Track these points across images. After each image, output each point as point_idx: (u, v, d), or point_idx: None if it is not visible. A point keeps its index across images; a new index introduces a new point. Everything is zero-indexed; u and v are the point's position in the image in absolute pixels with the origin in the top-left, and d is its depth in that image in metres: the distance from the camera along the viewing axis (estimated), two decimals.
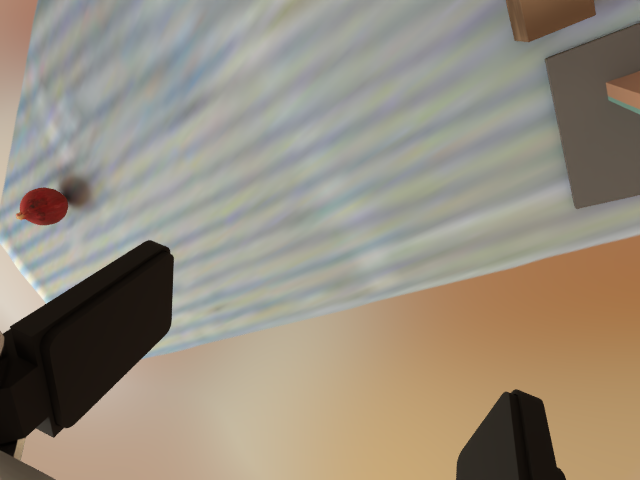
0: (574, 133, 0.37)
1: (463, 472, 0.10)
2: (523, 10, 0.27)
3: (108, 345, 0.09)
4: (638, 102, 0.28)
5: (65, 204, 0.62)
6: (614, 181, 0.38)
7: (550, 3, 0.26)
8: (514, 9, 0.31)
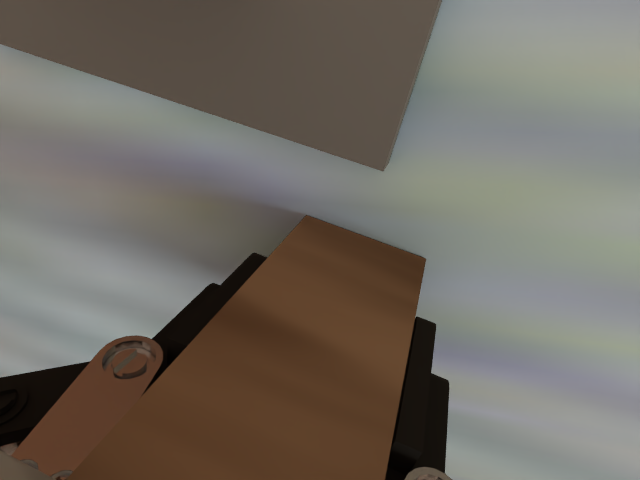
0: None
1: None
2: None
3: None
4: None
5: None
6: None
7: None
8: None
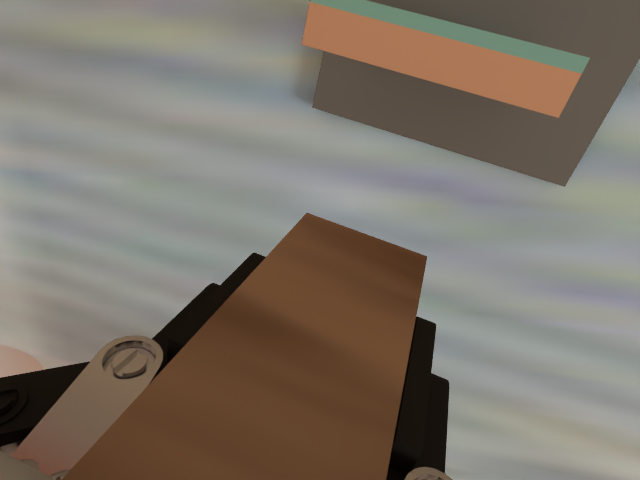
0: (631, 20, 0.17)
1: None
2: None
3: None
4: None
5: None
6: None
7: None
8: None
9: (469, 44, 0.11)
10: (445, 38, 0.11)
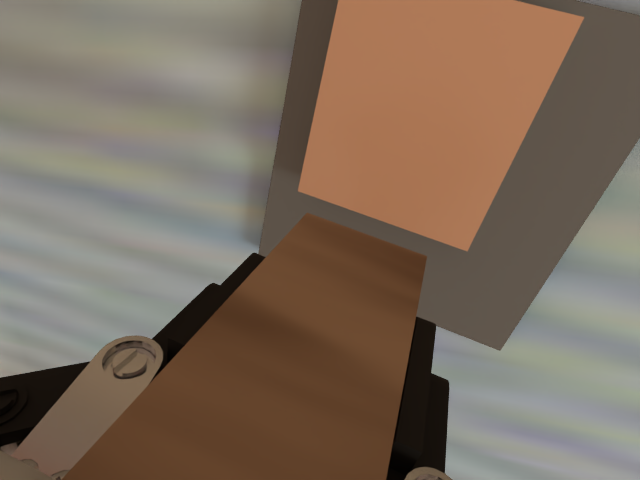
0: (553, 222, 0.17)
1: None
2: None
3: None
4: None
5: None
6: (567, 67, 0.14)
7: None
8: None
9: None
10: None
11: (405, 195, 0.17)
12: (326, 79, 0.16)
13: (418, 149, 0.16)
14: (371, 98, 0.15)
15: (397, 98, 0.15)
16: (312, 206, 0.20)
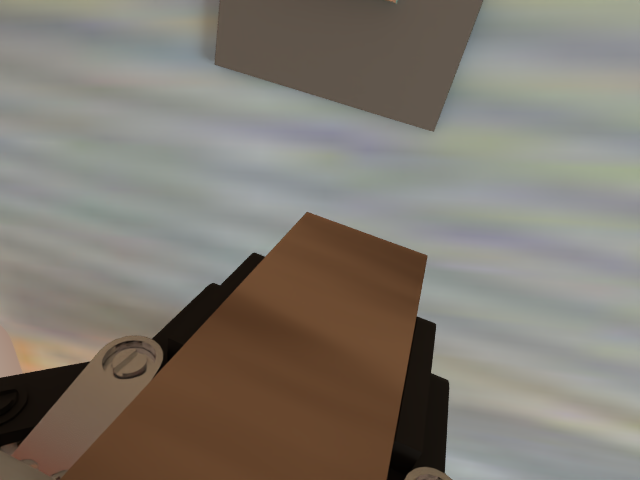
0: None
1: None
2: None
3: None
4: None
5: None
6: None
7: None
8: None
9: None
10: None
11: None
12: None
13: None
14: None
15: None
16: None
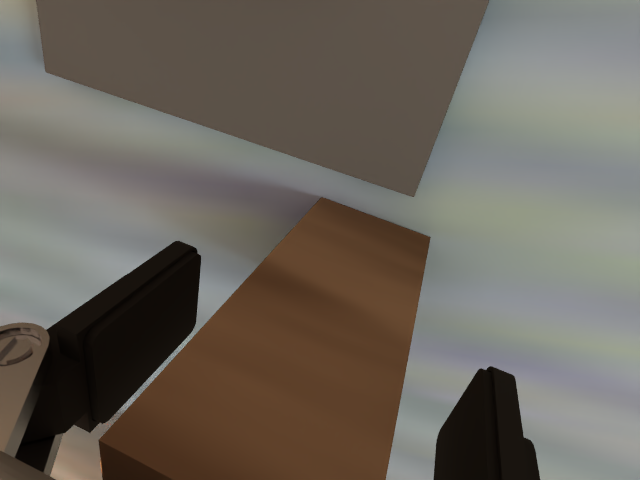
0: None
1: (441, 447, 0.10)
2: None
3: (141, 343, 0.09)
4: None
5: None
6: None
7: None
8: None
9: None
10: None
11: None
12: None
13: None
14: None
15: None
16: None
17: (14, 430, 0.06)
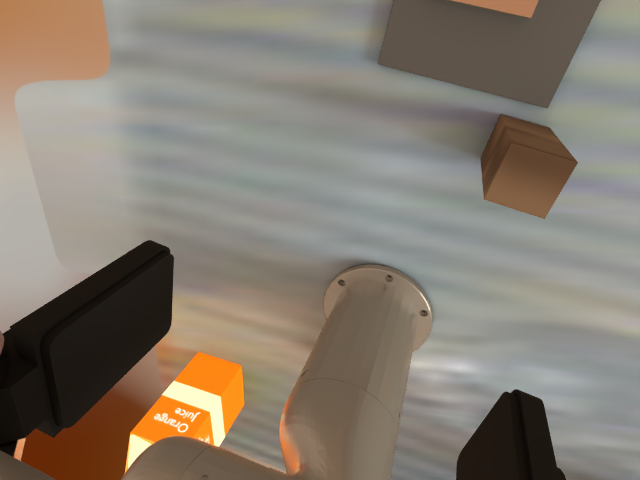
0: None
1: (463, 472, 0.10)
2: (558, 192, 0.25)
3: (108, 345, 0.09)
4: None
5: None
6: None
7: (535, 181, 0.25)
8: None
9: None
10: None
11: None
12: None
13: None
14: None
15: None
16: (422, 15, 0.31)
17: None
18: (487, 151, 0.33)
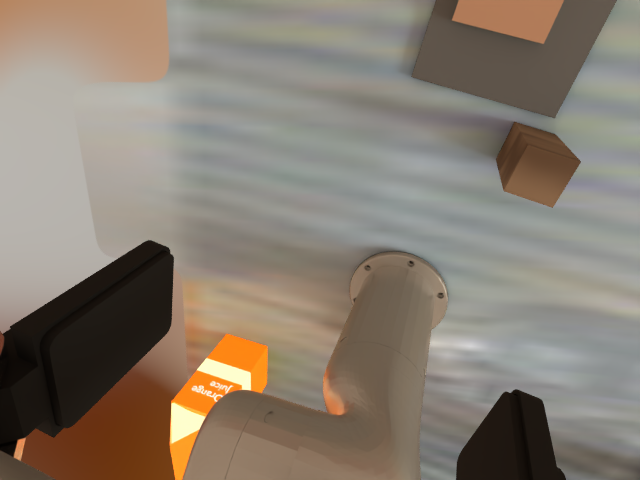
0: (587, 28, 0.33)
1: (463, 472, 0.10)
2: (564, 186, 0.31)
3: (108, 345, 0.09)
4: None
5: None
6: None
7: (546, 176, 0.31)
8: None
9: None
10: None
11: (513, 14, 0.33)
12: None
13: None
14: None
15: None
16: (451, 37, 0.37)
17: None
18: (503, 153, 0.39)
